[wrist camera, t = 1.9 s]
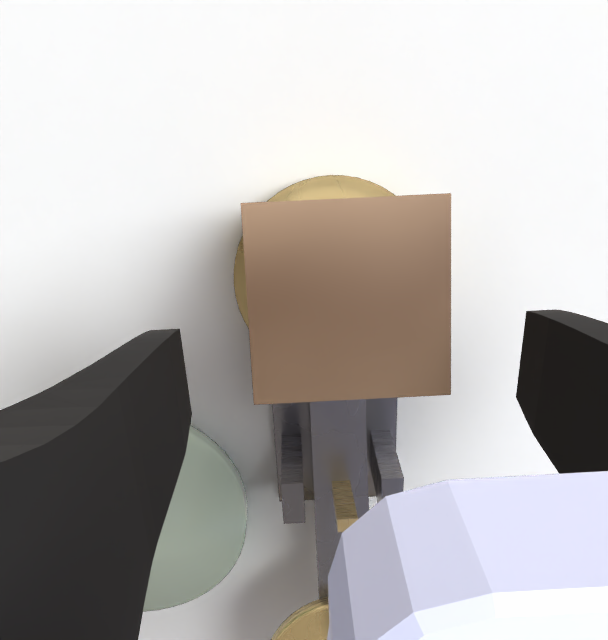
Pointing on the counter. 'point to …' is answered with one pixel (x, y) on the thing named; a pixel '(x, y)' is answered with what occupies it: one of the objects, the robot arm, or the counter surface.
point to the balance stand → (297, 454)
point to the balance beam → (326, 435)
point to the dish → (198, 527)
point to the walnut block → (349, 297)
